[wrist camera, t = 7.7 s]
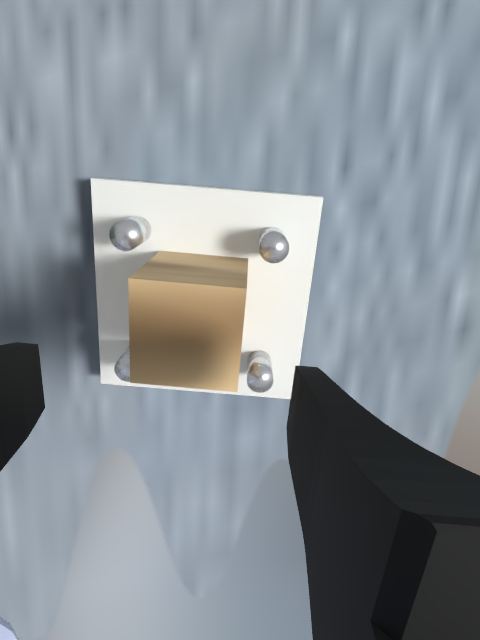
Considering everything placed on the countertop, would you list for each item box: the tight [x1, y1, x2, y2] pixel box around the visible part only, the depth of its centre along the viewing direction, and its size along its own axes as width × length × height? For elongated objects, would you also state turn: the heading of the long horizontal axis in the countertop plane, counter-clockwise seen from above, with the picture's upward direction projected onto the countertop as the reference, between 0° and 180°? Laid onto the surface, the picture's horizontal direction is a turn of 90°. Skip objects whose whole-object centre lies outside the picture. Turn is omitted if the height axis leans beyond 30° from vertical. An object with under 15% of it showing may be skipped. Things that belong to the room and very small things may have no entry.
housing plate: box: [91, 178, 323, 399], centre depth 19 cm, size 10×10×3 cm
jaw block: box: [128, 251, 248, 392], centre depth 16 cm, size 4×4×5 cm
